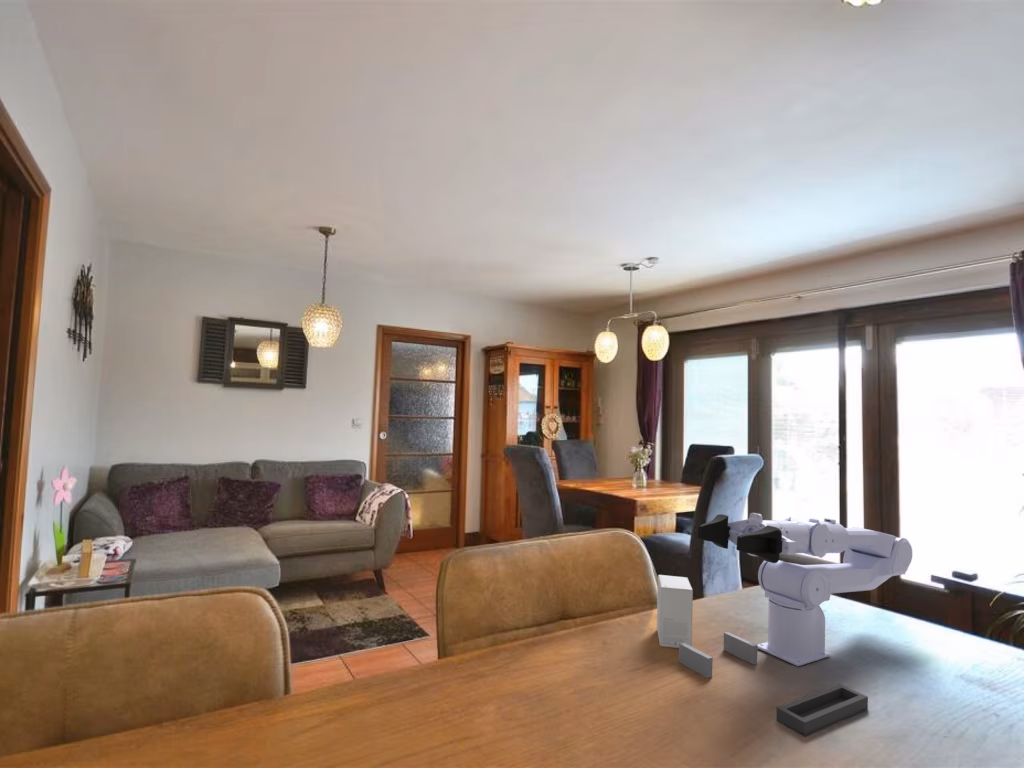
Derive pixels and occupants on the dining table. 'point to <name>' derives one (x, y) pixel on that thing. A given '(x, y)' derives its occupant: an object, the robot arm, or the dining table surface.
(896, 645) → the dining table surface
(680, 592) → the small box
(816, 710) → the tray
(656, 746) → the dining table surface
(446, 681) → the dining table surface
